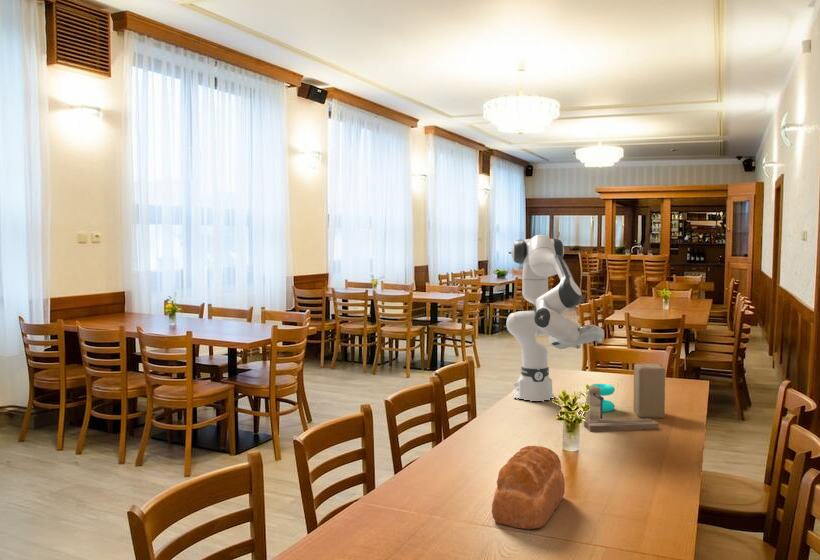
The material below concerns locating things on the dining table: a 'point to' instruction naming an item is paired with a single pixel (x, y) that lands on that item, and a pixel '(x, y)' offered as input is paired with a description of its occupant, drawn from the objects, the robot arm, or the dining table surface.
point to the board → (621, 425)
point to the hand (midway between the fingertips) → (589, 344)
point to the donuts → (605, 391)
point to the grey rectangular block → (649, 390)
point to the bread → (528, 488)
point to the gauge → (594, 404)
